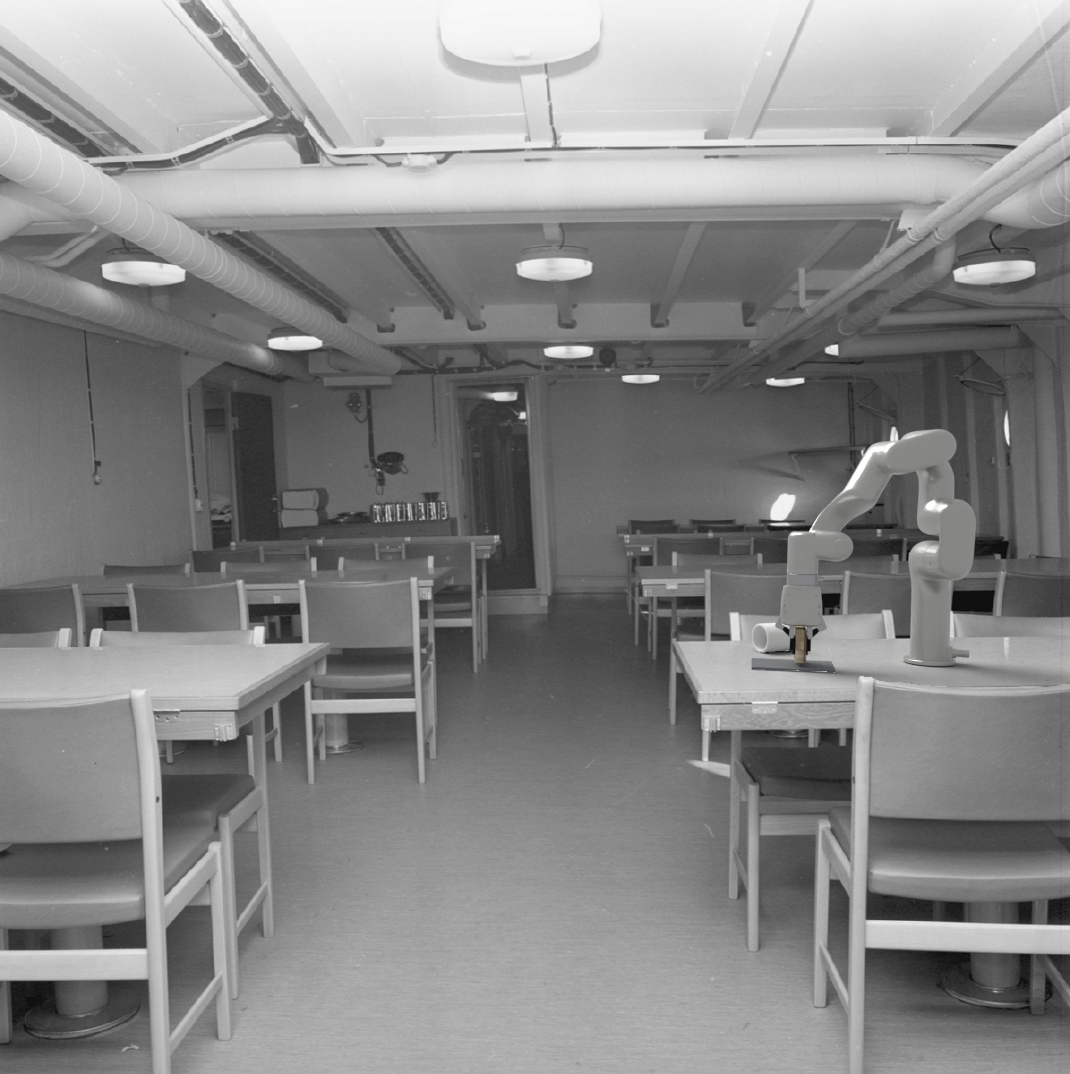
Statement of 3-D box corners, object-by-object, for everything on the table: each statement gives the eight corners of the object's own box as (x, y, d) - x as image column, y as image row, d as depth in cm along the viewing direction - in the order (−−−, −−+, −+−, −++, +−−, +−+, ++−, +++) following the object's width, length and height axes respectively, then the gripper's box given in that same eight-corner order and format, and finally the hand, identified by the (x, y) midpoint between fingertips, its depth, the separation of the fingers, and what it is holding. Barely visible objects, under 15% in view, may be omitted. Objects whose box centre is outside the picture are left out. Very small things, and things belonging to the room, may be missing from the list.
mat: (831, 663, 255) (831, 661, 255) (835, 673, 242) (836, 670, 242) (751, 660, 260) (751, 657, 259) (751, 669, 246) (751, 666, 246)
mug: (798, 653, 272) (799, 624, 272) (768, 655, 269) (768, 625, 268) (771, 646, 284) (772, 618, 283) (742, 648, 280) (742, 620, 279)
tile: (803, 657, 254) (804, 626, 254) (805, 663, 245) (806, 630, 245) (794, 657, 255) (794, 625, 254) (795, 662, 246) (796, 630, 246)
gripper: (834, 580, 251) (832, 653, 252) (768, 578, 255) (766, 650, 255) (836, 583, 244) (834, 658, 245) (769, 581, 247) (767, 654, 248)
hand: (799, 653), depth 250 cm, fingers closed on tile, 2 cm apart
